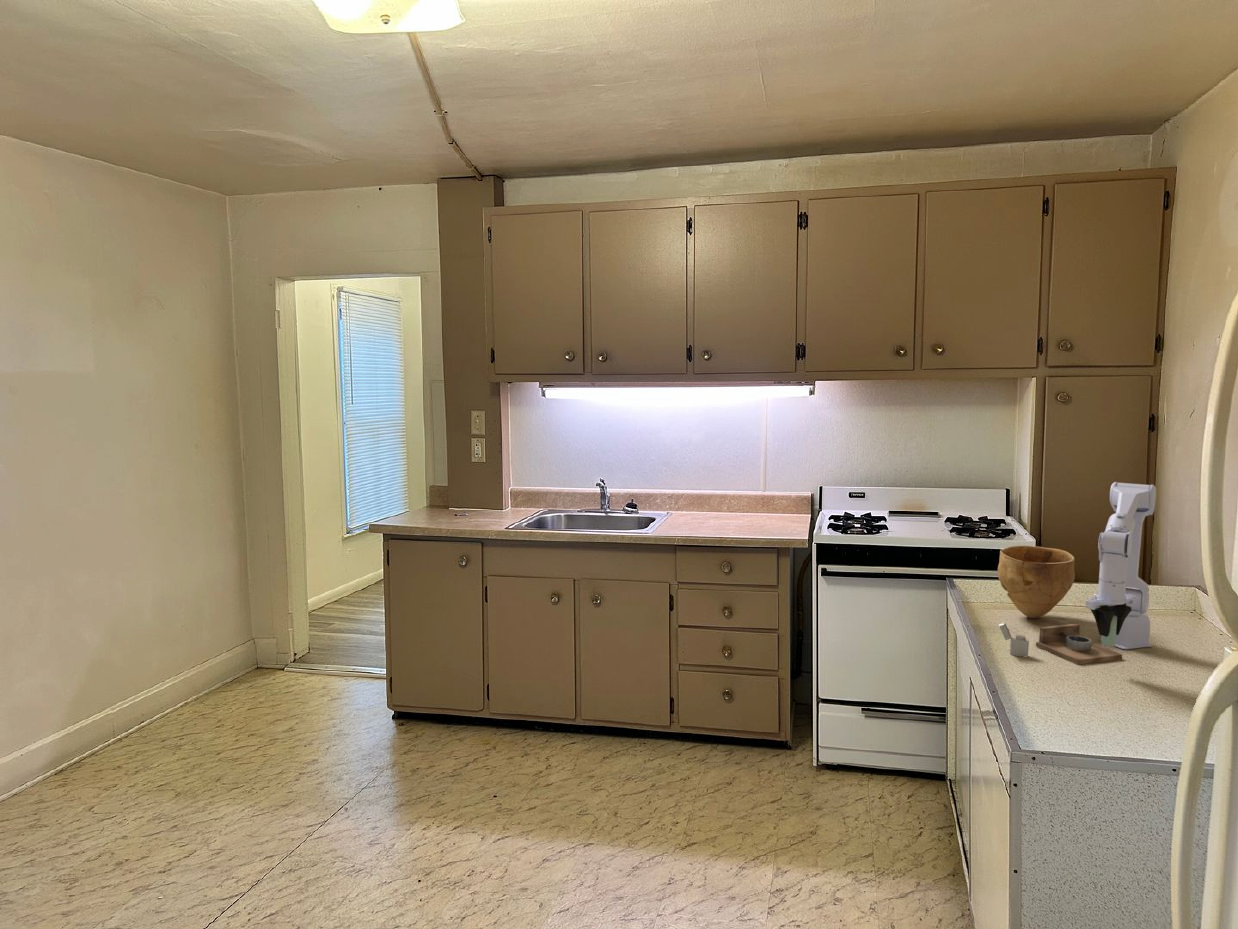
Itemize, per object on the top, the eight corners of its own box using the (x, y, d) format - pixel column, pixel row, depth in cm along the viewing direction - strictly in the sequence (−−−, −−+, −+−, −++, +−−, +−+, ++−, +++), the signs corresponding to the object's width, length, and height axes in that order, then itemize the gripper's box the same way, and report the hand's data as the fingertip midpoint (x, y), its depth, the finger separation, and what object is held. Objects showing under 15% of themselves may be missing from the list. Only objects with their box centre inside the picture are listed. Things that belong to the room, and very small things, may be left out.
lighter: (1028, 655, 215) (1029, 625, 214) (1027, 657, 214) (1029, 627, 213) (998, 650, 219) (999, 621, 218) (997, 652, 217) (999, 623, 217)
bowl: (1086, 629, 236) (1090, 560, 234) (1014, 629, 237) (1018, 560, 234) (1049, 607, 257) (1053, 544, 255) (983, 607, 257) (986, 544, 255)
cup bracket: (1078, 641, 226) (1079, 623, 225) (1121, 659, 212) (1123, 639, 212) (1035, 646, 222) (1036, 627, 221) (1077, 664, 209) (1078, 644, 208)
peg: (1108, 641, 205) (1109, 614, 204) (1118, 645, 202) (1120, 617, 201) (1098, 642, 204) (1100, 615, 203) (1108, 646, 201) (1110, 618, 201)
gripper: (1119, 573, 208) (1115, 626, 209) (1076, 579, 202) (1072, 633, 204) (1145, 580, 201) (1141, 634, 203) (1102, 586, 196) (1098, 642, 198)
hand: (1108, 634), depth 203 cm, fingers closed on peg, 3 cm apart
